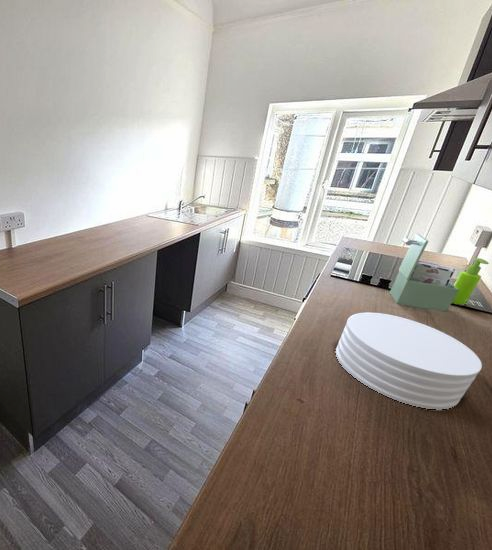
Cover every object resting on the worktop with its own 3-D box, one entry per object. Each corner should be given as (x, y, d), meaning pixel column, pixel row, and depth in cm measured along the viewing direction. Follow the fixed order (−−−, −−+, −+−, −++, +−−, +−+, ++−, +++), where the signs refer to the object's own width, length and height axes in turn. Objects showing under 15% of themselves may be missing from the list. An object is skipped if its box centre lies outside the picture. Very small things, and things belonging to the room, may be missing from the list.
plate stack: (321, 365, 88) (333, 333, 83) (350, 331, 105) (362, 303, 100) (452, 430, 69) (478, 394, 64) (463, 376, 85) (484, 344, 81)
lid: (418, 233, 123) (402, 231, 125) (428, 241, 113) (411, 238, 115) (400, 270, 130) (386, 267, 132) (409, 279, 120) (393, 276, 122)
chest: (434, 301, 128) (446, 278, 123) (445, 313, 118) (458, 289, 114) (389, 292, 134) (399, 270, 130) (396, 303, 125) (407, 280, 120)
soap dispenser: (452, 304, 125) (477, 261, 117) (442, 297, 131) (465, 255, 123) (470, 307, 124) (496, 263, 115) (459, 299, 130) (483, 257, 121)
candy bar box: (437, 304, 123) (456, 268, 117) (435, 308, 120) (455, 271, 114) (402, 294, 131) (419, 260, 124) (400, 297, 128) (416, 262, 121)
